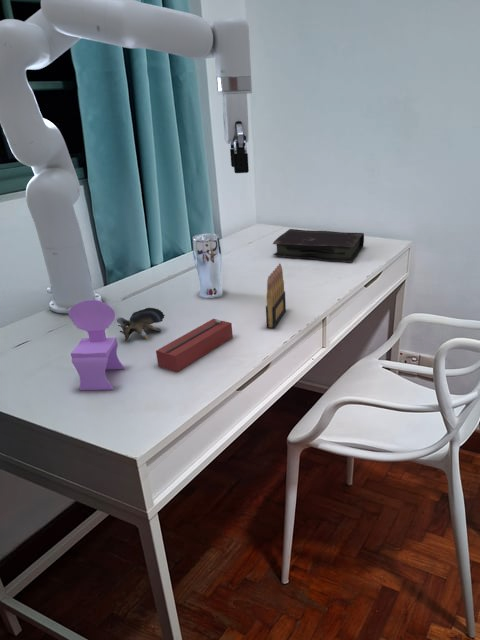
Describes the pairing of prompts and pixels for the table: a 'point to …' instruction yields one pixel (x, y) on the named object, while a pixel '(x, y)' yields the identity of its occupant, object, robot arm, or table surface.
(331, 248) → the diary
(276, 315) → the ammunition clip
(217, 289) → the beer glass
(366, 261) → the table surface
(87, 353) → the toy chair
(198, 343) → the pencil case
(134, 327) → the eagle figurine
